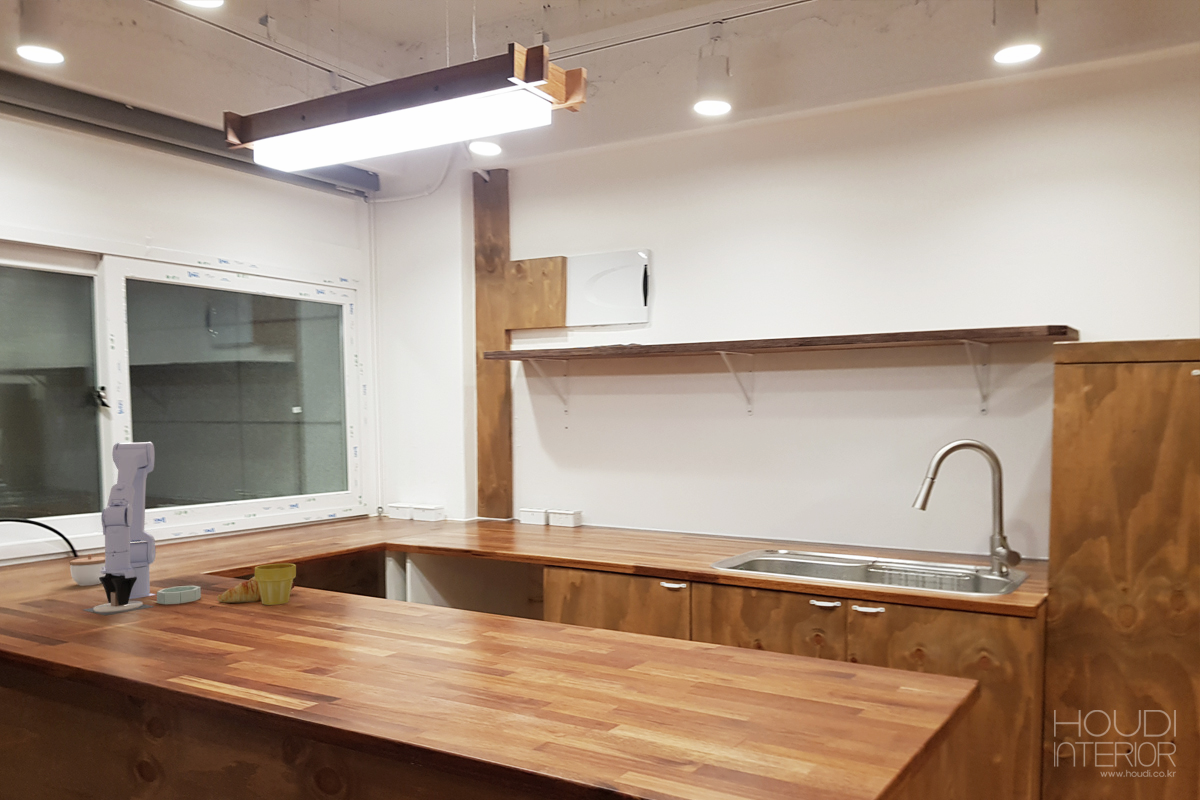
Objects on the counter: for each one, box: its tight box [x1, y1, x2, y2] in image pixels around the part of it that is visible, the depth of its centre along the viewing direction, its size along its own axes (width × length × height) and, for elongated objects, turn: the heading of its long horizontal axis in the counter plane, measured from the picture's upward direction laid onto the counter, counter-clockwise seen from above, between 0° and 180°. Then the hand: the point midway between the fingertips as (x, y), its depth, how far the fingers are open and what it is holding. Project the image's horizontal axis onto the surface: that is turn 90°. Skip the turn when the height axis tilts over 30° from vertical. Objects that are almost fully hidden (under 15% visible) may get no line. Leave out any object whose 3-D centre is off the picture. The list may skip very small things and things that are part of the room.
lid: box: [93, 591, 143, 613], centre depth 223 cm, size 11×11×4 cm
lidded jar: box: [69, 553, 106, 587], centre depth 269 cm, size 11×11×9 cm
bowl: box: [156, 585, 202, 605], centre depth 232 cm, size 10×10×4 cm
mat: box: [82, 603, 155, 616], centre depth 223 cm, size 14×12×1 cm
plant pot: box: [254, 562, 297, 606], centre depth 227 cm, size 10×10×10 cm
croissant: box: [216, 576, 296, 604], centre depth 234 cm, size 21×10×8 cm, turn 135°
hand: (118, 603), depth 223 cm, fingers open, 5 cm apart
